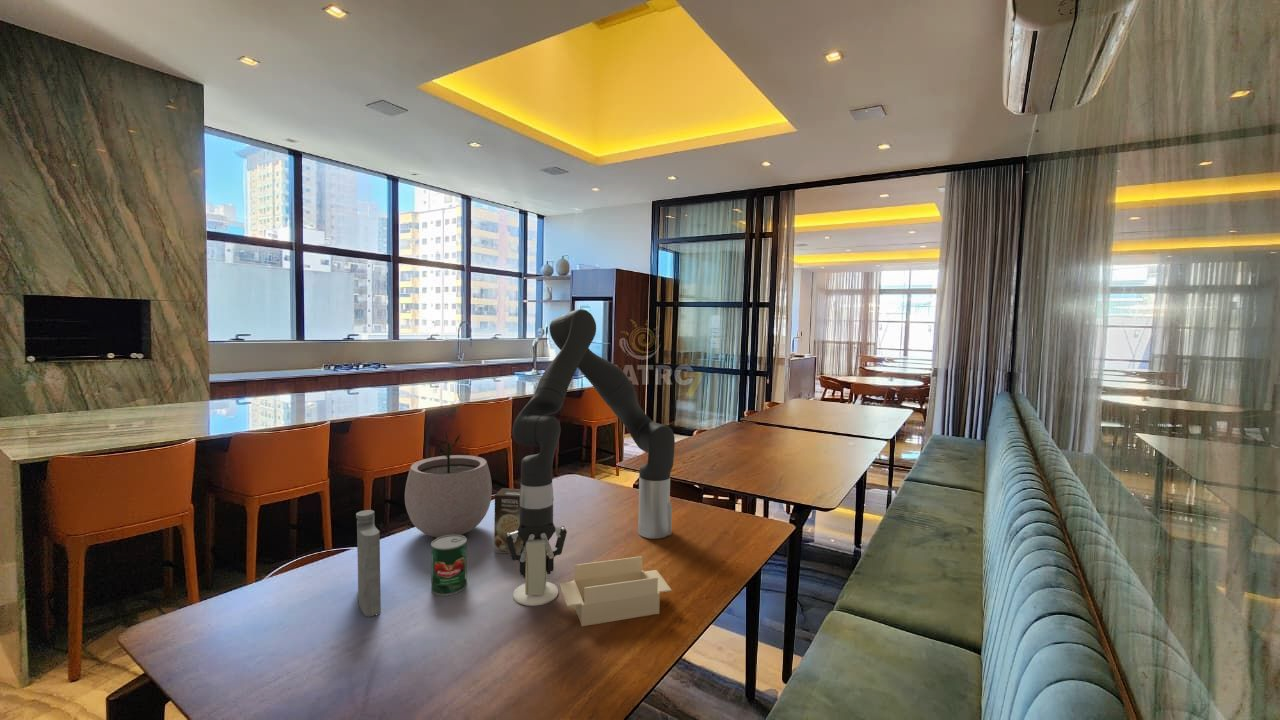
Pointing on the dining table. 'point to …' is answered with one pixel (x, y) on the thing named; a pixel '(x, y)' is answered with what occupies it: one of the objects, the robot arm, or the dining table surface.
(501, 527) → the coffee box
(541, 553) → the skincare box
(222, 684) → the dining table surface
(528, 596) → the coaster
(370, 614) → the hip flask
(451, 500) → the plant pot
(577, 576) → the carton
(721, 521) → the dining table surface
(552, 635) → the dining table surface
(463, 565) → the canned tomato
